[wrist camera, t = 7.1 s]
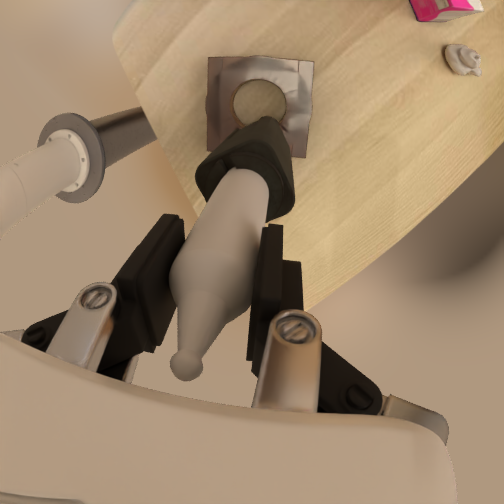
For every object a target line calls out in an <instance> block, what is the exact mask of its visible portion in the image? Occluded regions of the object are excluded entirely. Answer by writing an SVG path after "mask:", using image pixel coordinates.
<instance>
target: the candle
mask: <svg viewBox="0 0 504 504" xmlns="http://www.w3.org/2000/svg"><path fill="white" fill-rule="evenodd" d="M195 180H196V184H197V186H198V188H199V189H200V191H201V193H202V195H203V196H204V198H205V200H206V203H207V204H206V206H205V207H204V209H203V211H202V212H201V214H200V216H199V218H198V219H197V221H196V223H195V224H194V226H193V228H192V230H191V232H190V233H189V235H188V237H187V239H186V240H185V242H184V244H183V246H182V247H181V249H180V251H179V253H178V255H177V257H176V258H175V260H174V262H173V264H172V267H171V269H170V272H169V286H170V289H171V293H172V296H173V299H174V301H175V303H176V305H177V308H178V352H177V353H176V354H174V356H172V358H171V360H170V367H171V369H172V372H173V373H174V375H175V376H176V377H177V378H178V379H180V380H182V381H191V380H193V379H195V378H197V377H198V376H200V374H201V373H202V371H203V364H202V361H201V359H202V357H203V356H204V354H205V353H206V352H207V350H208V349H209V347H210V346H211V344H212V343H213V342H214V340H215V339H216V337H217V336H218V335H219V333H220V332H221V330H222V329H223V328H224V326H225V325H226V324H227V323H229V322H230V321H232V320H234V319H235V318H237V317H238V316H240V315H241V314H242V313H244V312H245V311H247V309H248V308H249V307H250V305H251V301H252V292H253V286H254V279H255V272H256V266H257V259H258V253H259V246H260V239H261V233H262V227H265V223H267V222H269V221H271V220H273V219H276V218H279V217H281V216H284V215H286V214H287V213H289V212H290V211H291V210H292V208H293V206H294V203H295V190H294V180H293V170H292V160H291V151H290V147H289V145H288V143H287V141H286V138H285V136H284V134H283V132H282V130H281V128H280V126H279V124H278V122H277V121H276V120H275V119H274V118H272V117H269V116H264V117H261V118H260V120H259V121H257V122H254V123H252V124H250V125H248V126H246V127H243V128H241V129H239V128H237V129H236V130H234V131H233V132H232V133H231V134H230V135H229V136H228V137H227V138H226V139H225V140H224V141H223V142H222V143H221V144H220V145H219V146H218V147H217V148H216V149H215V150H214V151H213V152H212V153H211V154H210V155H209V156H208V157H207V158H206V159H205V160H204V161H203V162H202V163H201V164H200V165H199V166H198V168H197V170H196V173H195Z"/></svg>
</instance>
